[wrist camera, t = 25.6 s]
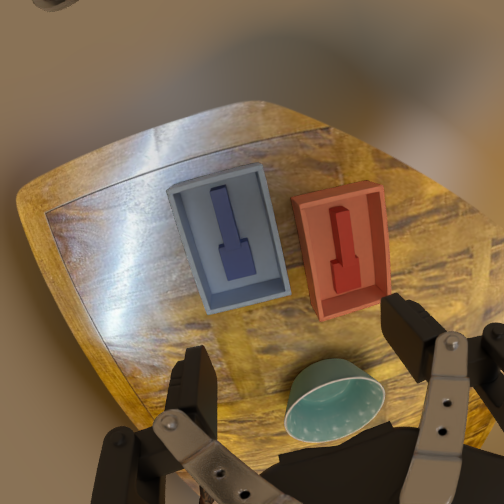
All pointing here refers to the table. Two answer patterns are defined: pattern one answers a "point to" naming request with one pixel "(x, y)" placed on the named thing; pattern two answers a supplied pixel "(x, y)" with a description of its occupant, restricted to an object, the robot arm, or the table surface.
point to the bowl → (331, 401)
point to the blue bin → (209, 237)
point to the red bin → (365, 244)
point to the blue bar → (231, 238)
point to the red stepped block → (344, 252)
